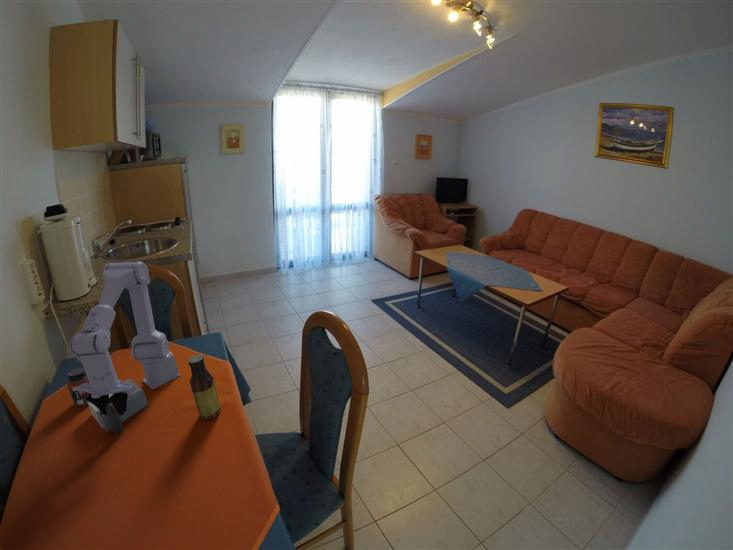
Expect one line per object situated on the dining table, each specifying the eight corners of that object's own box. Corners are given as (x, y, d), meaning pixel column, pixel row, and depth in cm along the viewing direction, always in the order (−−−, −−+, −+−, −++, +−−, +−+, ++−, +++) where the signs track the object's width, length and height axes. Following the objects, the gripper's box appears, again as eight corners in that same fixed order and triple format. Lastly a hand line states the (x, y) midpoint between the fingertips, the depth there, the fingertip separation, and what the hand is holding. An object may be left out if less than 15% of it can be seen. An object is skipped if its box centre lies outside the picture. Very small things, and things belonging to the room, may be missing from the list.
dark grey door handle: (146, 404, 107) (139, 379, 104) (157, 408, 105) (149, 383, 102) (106, 431, 97) (96, 404, 94) (116, 437, 95) (106, 410, 92)
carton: (135, 393, 113) (130, 378, 111) (146, 404, 108) (142, 389, 105) (92, 414, 104) (86, 399, 102) (102, 428, 99) (96, 412, 96)
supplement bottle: (85, 408, 106) (73, 379, 102) (70, 406, 108) (57, 376, 103) (102, 395, 112) (92, 367, 108) (88, 393, 113) (77, 365, 109)
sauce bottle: (225, 409, 105) (214, 355, 98) (209, 423, 100) (195, 367, 92) (210, 403, 107) (198, 350, 100) (193, 417, 102) (179, 362, 95)
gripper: (61, 381, 86) (78, 422, 91) (116, 382, 85) (130, 424, 90) (84, 364, 93) (99, 404, 97) (135, 365, 92) (147, 405, 97)
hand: (115, 412), depth 94 cm, fingers open, 4 cm apart
